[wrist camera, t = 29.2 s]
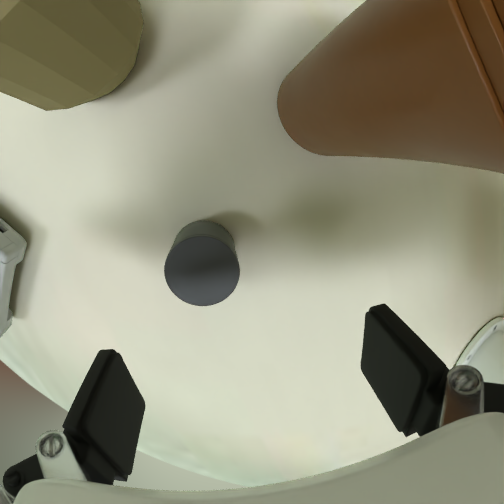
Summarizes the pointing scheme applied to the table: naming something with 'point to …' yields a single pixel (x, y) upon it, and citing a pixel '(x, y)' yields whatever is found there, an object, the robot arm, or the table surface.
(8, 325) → the handheld gaming device
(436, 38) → the bottle
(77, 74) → the squeeze bottle
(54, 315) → the table surface
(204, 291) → the cap
